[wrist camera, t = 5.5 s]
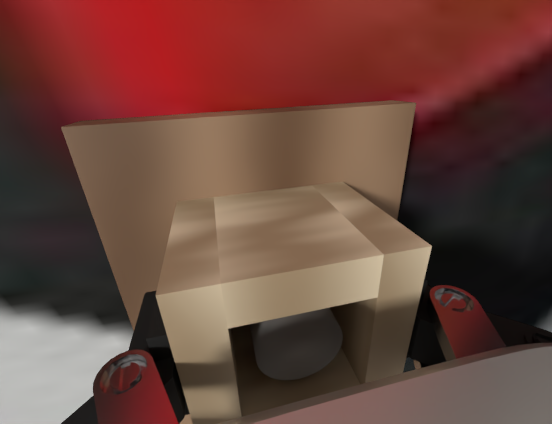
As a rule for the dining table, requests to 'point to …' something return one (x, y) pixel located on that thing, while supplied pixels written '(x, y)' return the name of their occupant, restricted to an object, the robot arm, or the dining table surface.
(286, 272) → the collar
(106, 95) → the dining table surface
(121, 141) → the hub board
